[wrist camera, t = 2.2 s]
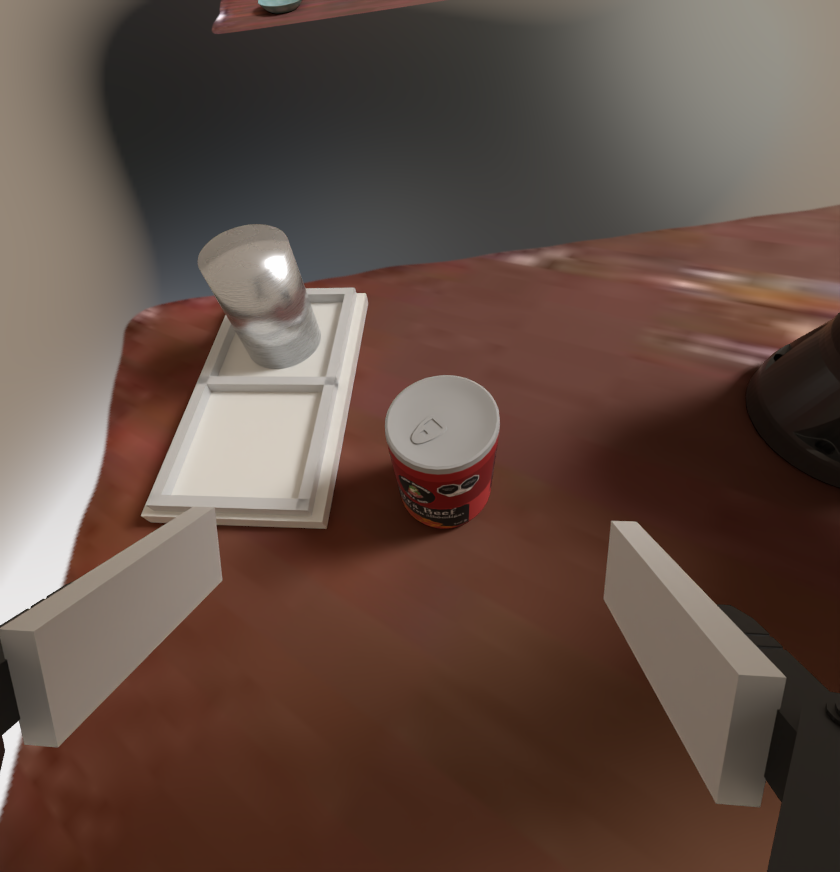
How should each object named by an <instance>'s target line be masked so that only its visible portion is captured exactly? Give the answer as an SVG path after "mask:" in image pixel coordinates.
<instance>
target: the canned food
mask: <svg viewBox="0 0 840 872" xmlns="http://www.w3.org/2000/svg"><path fill="white" fill-rule="evenodd" d="M499 427H500V418H499V410H498V407H497V405H496V402H495V400H494V399H493V397H492V396H491V394H490V393H489V392H488V391H487V390H486V389H485V388H484V387H482V386H481V385H479V384H478V383H476V382H474V381H472V380H469V379H467V378H463V377H459V376H450V375H442V376H434V377H429V378H425V379H423V380H420V381H418V382H415V383H413V384H412V385H410V386H408V387H407V388H406V389H404V390H403V391H402V392H401V393H400V394H399V395H398V396H397V397H396V398H395V399H394V401H393V402H392V404H391V406H390V407H389V409H388V412H387V416H386V419H385V434H386V440H387V444H388V449H389V453H390V457H391V461H392V464H393V468H394V472H395V476H396V479H397V483H398V487H399V490H400V494H401V498H402V501H403V503H404V506H405V508H406V509H407V510H408V512H409V513H410V514H411V515H412V516H413V517H414V518H415V519H416V520H418V521H420V522H422V523H423V524H425V525H428V526H431V527H434V528H441V529H445V528H454V527H457V526H461V525H463V524H465V523H467V522H469V521H470V520H471V519H473V518H474V517H475V516H477V515H478V513H479V512H480V511H481V510H482V509H483V508H484V506H485V504H486V503H487V501H488V498H489V495H490V491H491V484H492V477H493V471H494V464H495V457H496V451H497V444H498V437H499Z"/></svg>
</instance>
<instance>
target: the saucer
mask: <svg viewBox="0 0 840 872" xmlns="http://www.w3.org/2000/svg"><path fill="white" fill-rule="evenodd" d="M301 1H302V0H258V3H259V4H260V5H261V6H262V7H263V8H264V9H265V10H267V11H269V12H271V13H276V14H279V13H286V12H290V11H293V10H295V9H296V8H297V7H298V6H299V5H300V3H301Z"/></svg>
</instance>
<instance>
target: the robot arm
mask: <svg viewBox="0 0 840 872" xmlns="http://www.w3.org/2000/svg"><path fill="white" fill-rule="evenodd" d="M746 405H747V409H748V413H749V416H750V418H751V420H752V422H753V424H754V426H755V428H756V429H757V431H758V432H759V434H760V435H761V437H762V438H763V439H764V440H765V441H766V443H767V444H768V445H769V446H770V447H771V448H772V449H773V450H774V451H775V452H776V453H778V454H779V455H780V456H781V457H782V458H784V459H785V460H786V461H788V462H789V463H790V464H792V465H793V466H795V467H796V468H798V469H799V470H801V471H803V472H805V473H806V474H808V475H810V476H812V477H814V478H816V479H818V480H821V481H823V482H825V483H828V484H830V485H833V486H836V487H839V488H840V312H839V313H838V314H837V315H836V316H835V318H834V319H832V320H830V321H828V322H827V323H825V324H823V325H821V326H820V327H818V328H816V329H814V330H813V331H811V332H809V333H807V334H805V335H804V336H802V337H800V338H798V339H797V340H795V341H793V342H792V343H790V344H788V345H786V346H784V347H783V348H781V349H779V350H778V351H776V352H775V353H773V354H772V355H771V356H770V357H769V358H768V359H767V360H766V361H765V362H764V363H763V364H762V365H761V367H760V368H759V369H758V370H757V371H756V372H755V374H754V375H753V376H752V378H751V379H750V381H749V384H748V386H747V391H746ZM221 581H222V572H221V563H220V553H219V544H218V534H217V524H216V515H215V507H192V508H190V509H189V510H187V511H186V512H184V513H182V514H181V515H179V516H178V517H176V518H174V519H173V520H171V521H170V522H168V523H166V524H165V525H163V526H162V527H160V528H158V529H157V530H155V531H154V532H152V533H150V534H149V535H147V536H146V537H144V538H143V539H141V540H139V541H138V542H136V543H135V544H133V545H131V546H130V547H128V548H127V549H125V550H123V551H122V552H120V553H119V554H117V555H115V556H114V557H112V558H111V559H109V560H107V561H106V562H104V563H103V564H101V565H100V566H98V567H96V568H95V569H93V570H92V571H90V572H88V573H87V574H85V575H84V576H82V577H80V578H79V579H77V580H76V581H74V582H71V583H69V584H66V585H64V586H63V587H61V588H60V589H58V590H56V591H55V592H53V593H52V594H50V595H48V596H47V598H46V599H42V600H40V601H39V602H37V603H36V604H34V605H32V606H31V609H26V610H24V611H23V612H21V613H20V614H18V615H16V616H15V617H13V618H12V619H10V620H8V621H7V622H5V623H4V624H2V625H0V770H1V766H2V761H3V756H4V753H5V748H4V742H3V738H2V735H3V734H4V733H5V732H6V731H7V730H8V729H10V728H11V727H12V726H13V725H14V724H15V723H17V722H18V721H19V723H20V727H21V732H22V736H23V740H24V744H25V745H36V746H48V747H59V746H60V745H61V744H62V743H63V742H64V741H65V740H66V739H67V738H68V737H69V736H70V735H71V734H72V733H73V732H74V731H75V730H76V729H77V728H78V726H79V725H80V724H81V723H82V722H83V721H84V720H85V719H86V718H87V717H88V716H89V715H90V714H91V713H92V712H93V711H94V710H95V709H96V708H97V707H98V706H99V705H100V704H101V703H102V702H103V701H104V700H105V699H106V698H107V697H108V696H109V695H110V694H111V693H112V692H113V691H114V690H115V689H116V688H117V687H118V686H119V685H120V684H121V683H122V682H123V681H124V680H125V679H126V678H127V677H128V676H129V675H130V674H131V673H132V672H133V671H134V670H135V669H136V668H137V667H138V666H139V665H140V664H141V663H142V662H143V661H144V659H145V658H146V657H147V656H148V655H149V654H150V653H151V652H152V651H153V650H154V649H155V648H156V647H157V646H158V645H159V644H160V643H161V642H162V641H163V640H164V639H165V638H166V637H167V636H168V635H169V634H170V633H171V632H172V631H173V630H174V629H175V628H176V627H177V626H178V625H179V624H180V623H181V622H182V621H183V620H184V619H185V618H186V617H187V616H188V615H189V614H190V613H191V612H192V611H193V610H194V609H195V608H196V607H197V606H198V605H199V604H200V603H201V602H202V601H203V600H204V599H205V598H206V597H207V596H208V595H209V594H210V592H211V591H212V590H213V589H214V588H215V587H216V586H217V585H218V584H219V583H220V582H221ZM604 601H605V603H606V604H607V606H608V608H609V610H610V612H611V613H612V615H613V617H614V619H615V621H616V623H617V624H618V626H619V628H620V630H621V632H622V633H623V635H624V637H625V639H626V641H627V643H628V644H629V646H630V648H631V650H632V652H633V653H634V655H635V657H636V659H637V661H638V663H639V664H640V666H641V668H642V670H643V672H644V673H645V675H646V677H647V679H648V681H649V682H650V684H651V686H652V688H653V690H654V692H655V693H656V695H657V697H658V699H659V701H660V702H661V704H662V706H663V708H664V710H665V712H666V713H667V715H668V717H669V719H670V721H671V722H672V724H673V726H674V728H675V730H676V732H677V733H678V735H679V737H680V739H681V741H682V742H683V744H684V746H685V748H686V750H687V752H688V753H689V755H690V757H691V759H692V761H693V762H694V764H695V766H696V768H697V770H698V771H699V773H700V775H701V777H702V779H703V781H704V782H705V784H706V786H707V788H708V790H709V791H710V793H711V795H712V797H713V799H714V801H715V802H716V804H728V805H740V806H752V807H760V806H761V801H762V796H763V791H764V786H765V781H767V782H768V783H769V785H770V786H771V788H772V789H773V791H774V792H775V794H776V795H777V796H778V798H779V799H780V801H781V802H782V804H781V809H780V814H779V818H778V823H777V827H776V832H775V837H774V841H773V846H772V851H771V856H770V860H769V865H768V870H767V872H840V693H835V692H830V691H829V690H827V689H826V688H825V687H824V686H823V685H822V684H821V683H820V682H819V681H818V680H817V679H816V678H815V677H814V676H813V675H812V674H811V673H810V672H809V671H808V670H807V669H805V668H804V667H803V666H802V665H801V664H800V663H799V662H798V661H797V660H796V659H795V658H794V657H793V656H792V655H791V654H790V653H789V652H788V651H787V650H783V647H782V646H781V645H780V644H779V643H778V642H777V641H776V640H775V639H774V638H773V637H770V636H769V633H768V632H767V631H766V630H765V629H764V628H763V627H762V626H760V625H759V624H758V623H757V622H756V621H755V620H754V619H753V618H751V617H750V616H748V615H746V614H745V613H743V612H741V611H740V610H738V609H736V608H735V607H733V606H731V605H717V604H715V603H714V602H713V601H712V600H711V599H710V598H709V597H708V596H707V594H706V593H705V592H704V591H703V590H702V589H701V588H700V587H699V586H698V585H697V584H696V583H695V582H694V581H693V580H692V579H691V578H690V577H689V576H688V575H687V574H686V573H685V572H684V571H683V570H682V569H681V567H680V566H679V565H678V564H677V563H676V562H675V561H674V560H673V559H672V558H671V557H670V556H669V555H668V554H667V553H666V552H665V551H664V550H663V549H662V548H661V547H660V546H659V545H658V544H657V543H656V542H655V541H654V539H653V538H652V537H651V536H650V535H649V534H648V533H647V532H646V531H645V530H644V529H643V528H642V527H641V526H640V525H639V524H638V523H637V522H632V521H611V528H610V538H609V549H608V559H607V569H606V579H605V589H604Z"/></svg>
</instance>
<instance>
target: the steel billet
mask: <svg viewBox="0 0 840 872" xmlns="http://www.w3.org/2000/svg"><path fill="white" fill-rule="evenodd" d="M198 267H199V269H200V271H201V273H202V274H203V276H204V278H205V279H206V281H207V283H208V285H209V286H210V288H211V290H212V292H213V293H214V295H215V297H216V299H217V300H218V302H219V304H220V306H221V307H222V309H223V311H224V313H225V314H226V316H227V318H228V319H229V321H230V323H231V325H232V326H233V328H234V330H235V332H236V333H237V335H238V337H239V339H240V340H241V342H242V344H243V345H244V347H245V349H246V351H247V352H248V354H249V356H250V358H251V359H252V360H253V361H254V362H255V363H256V364H258V365H260V366H262V367H265V368H269V369H283V368H288V367H292V366H295V365H297V364H299V363H301V362H303V361H305V360H306V359H307V358H309V357H310V356H311V355H312V354H313V353H314V352H315V351H316V349H317V348H318V346H319V344H320V340H321V331H320V328H319V325H318V323H317V320H316V317H315V314H314V311H313V309H312V306H311V303H310V300H309V297H308V295H307V292H306V289H305V286H304V283H303V281H302V278H301V275H300V272H299V270H298V266H297V264H296V261H295V258H294V255H293V253H292V250H291V247H290V244H289V241H288V239H287V236H286V235H285V234H284V233H283V232H282V231H281V230H279V229H278V228H275V227H272V226H269V225H261V224H254V225H245V226H240V227H236V228H233V229H230V230H228V231H226V232H223V233H221V234H219V235H218V236H216V237H215V238H213V239H212V240H211V241H209V242H208V243H207V244H206V245H205V246H204V248H203V249H202V250H201V252H200V254H199V257H198Z"/></svg>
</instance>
